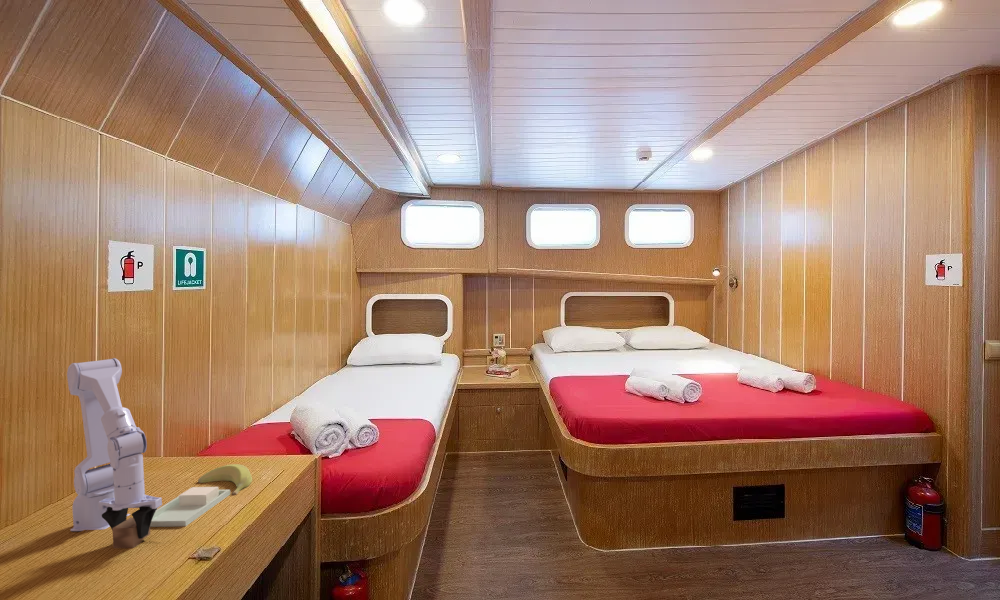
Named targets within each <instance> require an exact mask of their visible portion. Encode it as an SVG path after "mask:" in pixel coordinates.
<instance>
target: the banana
mask: <svg viewBox="0 0 1000 600" xmlns="http://www.w3.org/2000/svg"><path fill="white" fill-rule="evenodd" d="M197 481H198V483H199V484H202V483H210V482H212V483H213V482H219V481H220V482H221V481H222V482H224V481H225V482H232V483H233V484H235V486H236V489H234V491H232V492H231V495H233V496H235V495H238V494H239V492H240V491H241V490H242V489H245V488H247V487H248V486H250V485H251V484H252V482H253V477H252V473H251V472H250V469H249V468H248V467H247V466H246V465H243V464H239V463H238V464H237V463H235V464H234V463H233V464H231V463H230V464H226V465H222V466H219V467H218V466H217V467H216V468H214V469H211V470H209V471H207V472H206V473H204V474H203V475H201V476H200V477H199V478H198V480H197Z"/></svg>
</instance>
